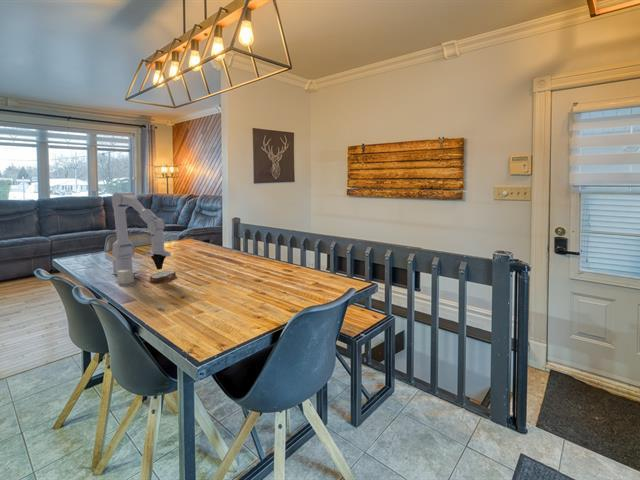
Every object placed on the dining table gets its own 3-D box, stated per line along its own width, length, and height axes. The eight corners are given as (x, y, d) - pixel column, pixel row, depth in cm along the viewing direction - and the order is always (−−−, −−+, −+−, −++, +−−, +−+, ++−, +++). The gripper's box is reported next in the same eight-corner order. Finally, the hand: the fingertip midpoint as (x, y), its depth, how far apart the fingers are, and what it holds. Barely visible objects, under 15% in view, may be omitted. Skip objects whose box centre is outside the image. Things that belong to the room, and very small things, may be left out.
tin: (146, 282, 177) (161, 284, 176) (146, 276, 177) (161, 278, 175) (165, 274, 192) (179, 276, 190) (165, 269, 191) (179, 271, 190)
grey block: (117, 283, 176) (116, 271, 175) (127, 280, 181) (126, 268, 180) (124, 284, 174) (123, 272, 173) (133, 281, 179) (133, 270, 178)
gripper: (140, 242, 179) (142, 269, 181) (161, 245, 173) (163, 272, 175) (152, 240, 185) (154, 266, 188) (173, 243, 179) (174, 269, 182)
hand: (159, 269), depth 182 cm, fingers closed
